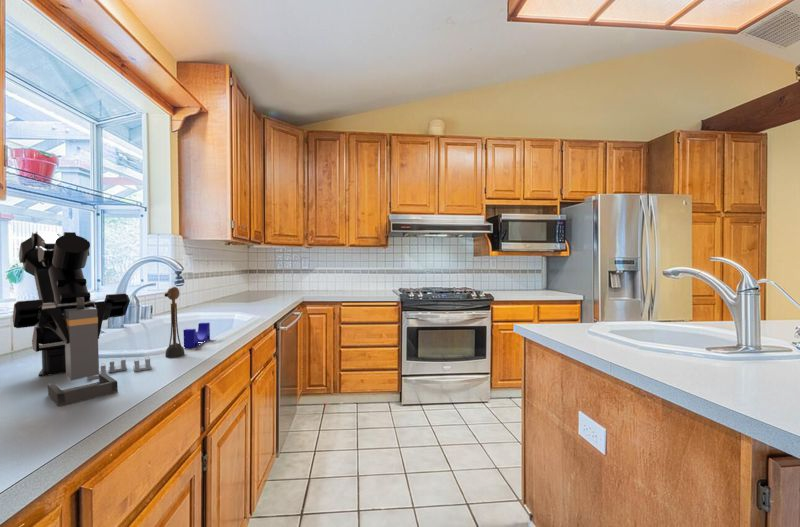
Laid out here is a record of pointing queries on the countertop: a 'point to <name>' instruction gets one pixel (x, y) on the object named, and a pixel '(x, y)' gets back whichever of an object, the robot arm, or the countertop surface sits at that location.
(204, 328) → the cable clip
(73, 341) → the connector
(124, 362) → the clips
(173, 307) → the wooden tabletop sculpture
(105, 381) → the dark grey square tray
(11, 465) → the countertop surface
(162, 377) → the countertop surface
